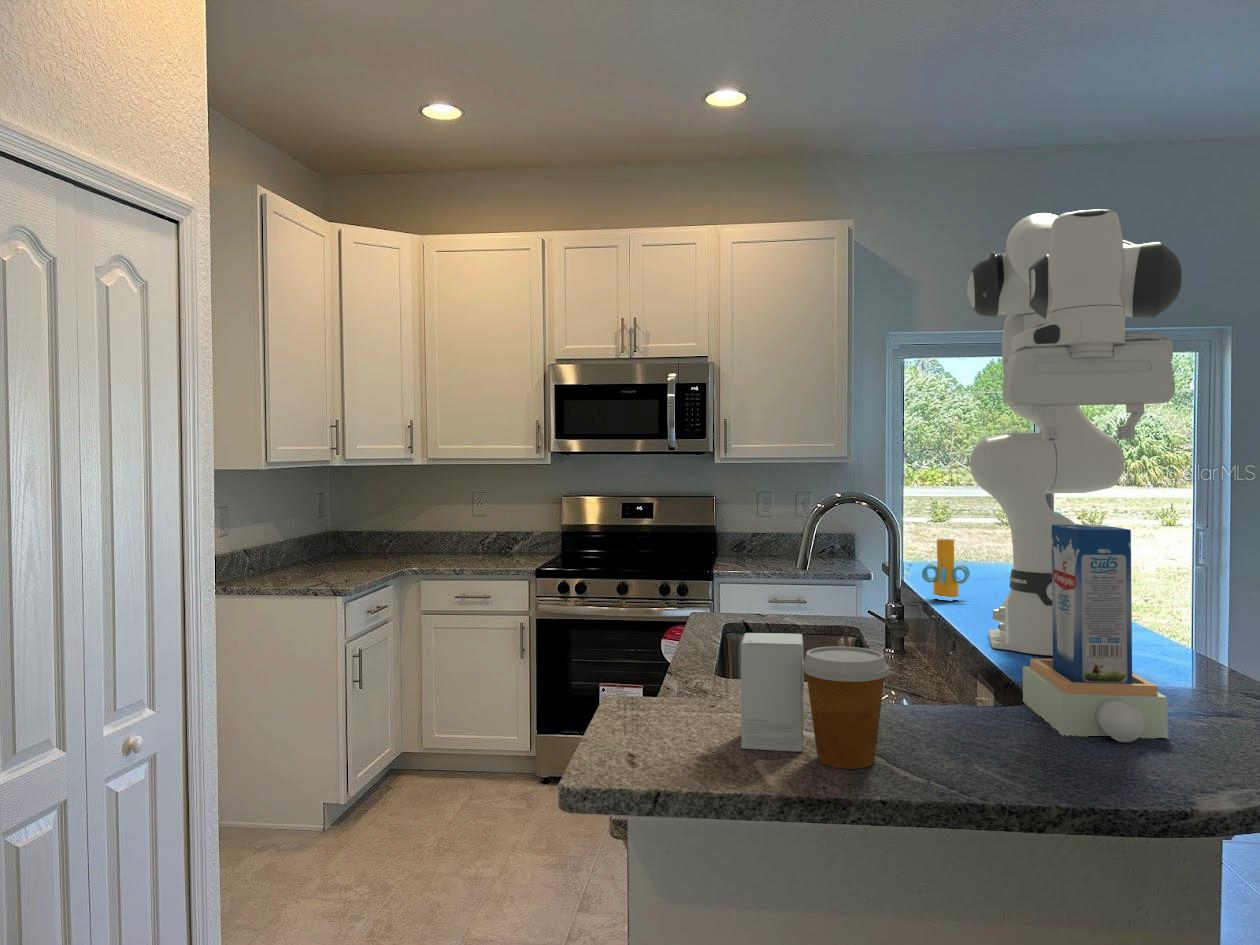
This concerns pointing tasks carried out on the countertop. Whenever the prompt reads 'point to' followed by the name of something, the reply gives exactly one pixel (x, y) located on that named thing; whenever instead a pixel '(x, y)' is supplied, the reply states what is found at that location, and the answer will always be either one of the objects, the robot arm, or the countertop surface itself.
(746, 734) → the supplement box
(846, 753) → the disposable coffee cup
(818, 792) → the countertop surface
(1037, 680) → the framed green panel box
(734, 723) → the countertop surface
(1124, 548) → the milk carton
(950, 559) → the orange column with rings
